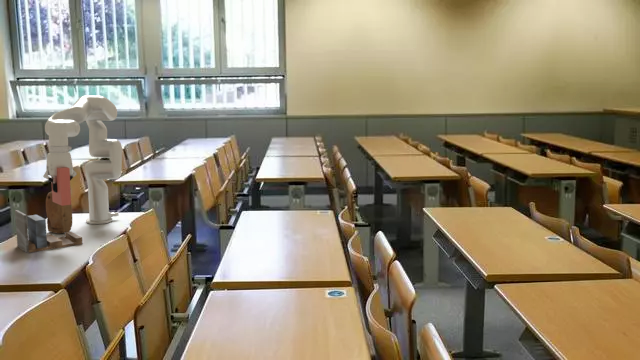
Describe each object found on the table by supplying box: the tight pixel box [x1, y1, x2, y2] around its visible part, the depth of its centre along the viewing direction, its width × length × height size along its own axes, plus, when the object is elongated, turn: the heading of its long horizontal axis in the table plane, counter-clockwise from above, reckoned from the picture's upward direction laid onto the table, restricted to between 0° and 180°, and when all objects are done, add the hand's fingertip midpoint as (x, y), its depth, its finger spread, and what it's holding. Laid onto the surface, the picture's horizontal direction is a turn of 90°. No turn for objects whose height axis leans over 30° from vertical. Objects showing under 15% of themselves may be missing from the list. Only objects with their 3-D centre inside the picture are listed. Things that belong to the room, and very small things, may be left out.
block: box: [45, 190, 73, 235], centre depth 284 cm, size 11×8×20 cm
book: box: [50, 167, 72, 206], centre depth 263 cm, size 4×12×16 cm, turn 41°
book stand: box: [14, 209, 83, 254], centre depth 262 cm, size 23×14×16 cm, turn 131°
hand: (61, 191), depth 263 cm, fingers closed on book, 4 cm apart
